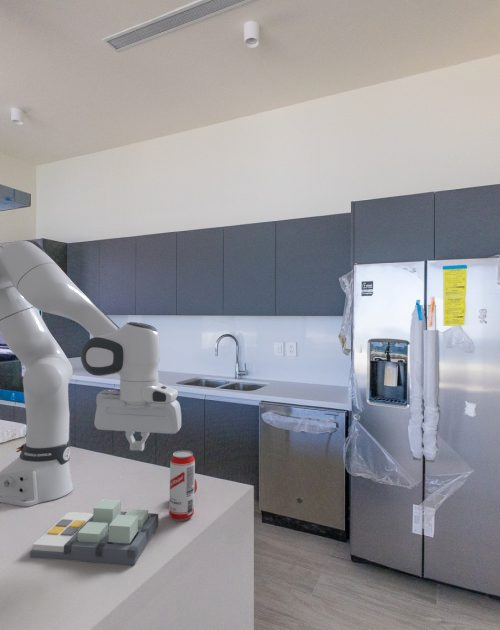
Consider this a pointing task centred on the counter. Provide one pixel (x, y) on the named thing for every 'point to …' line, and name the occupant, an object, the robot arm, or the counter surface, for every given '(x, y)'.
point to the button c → (123, 529)
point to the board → (66, 546)
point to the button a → (93, 532)
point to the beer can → (182, 485)
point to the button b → (106, 510)
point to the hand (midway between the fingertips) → (137, 449)
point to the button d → (139, 516)
